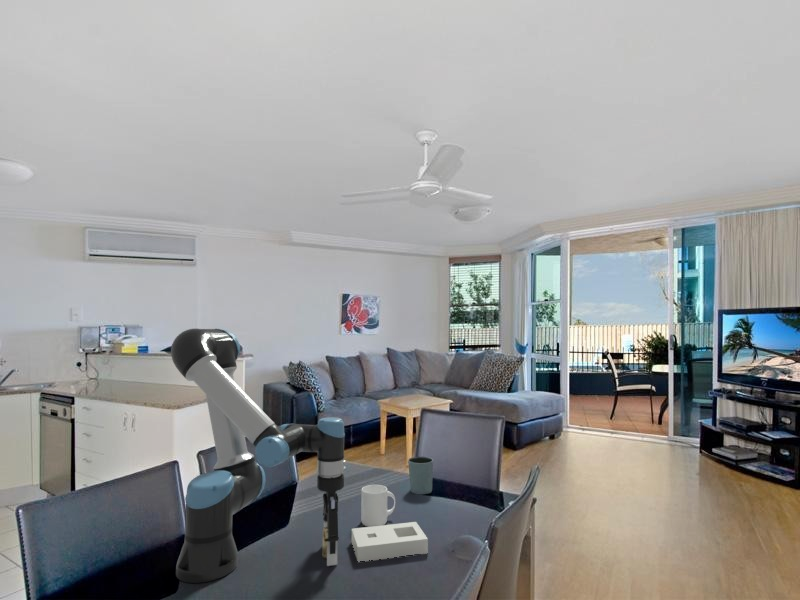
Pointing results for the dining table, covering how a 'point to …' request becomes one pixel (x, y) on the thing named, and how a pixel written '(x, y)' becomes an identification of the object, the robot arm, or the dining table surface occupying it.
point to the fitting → (325, 536)
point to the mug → (375, 505)
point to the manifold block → (388, 541)
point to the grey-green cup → (420, 474)
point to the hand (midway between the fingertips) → (329, 554)
